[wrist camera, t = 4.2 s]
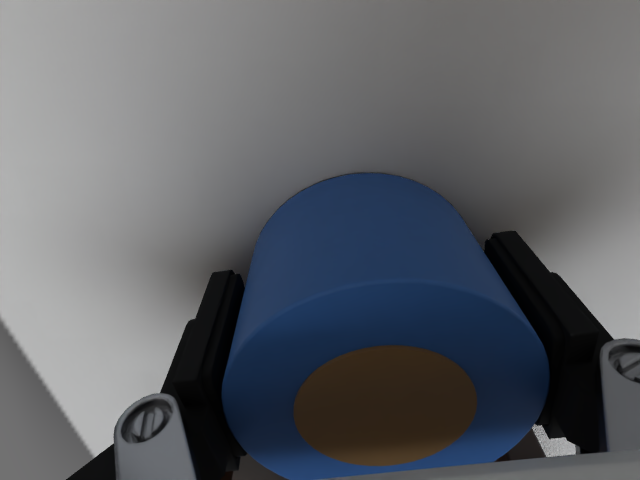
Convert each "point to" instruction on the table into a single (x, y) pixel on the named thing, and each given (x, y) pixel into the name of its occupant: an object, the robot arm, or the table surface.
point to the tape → (377, 338)
